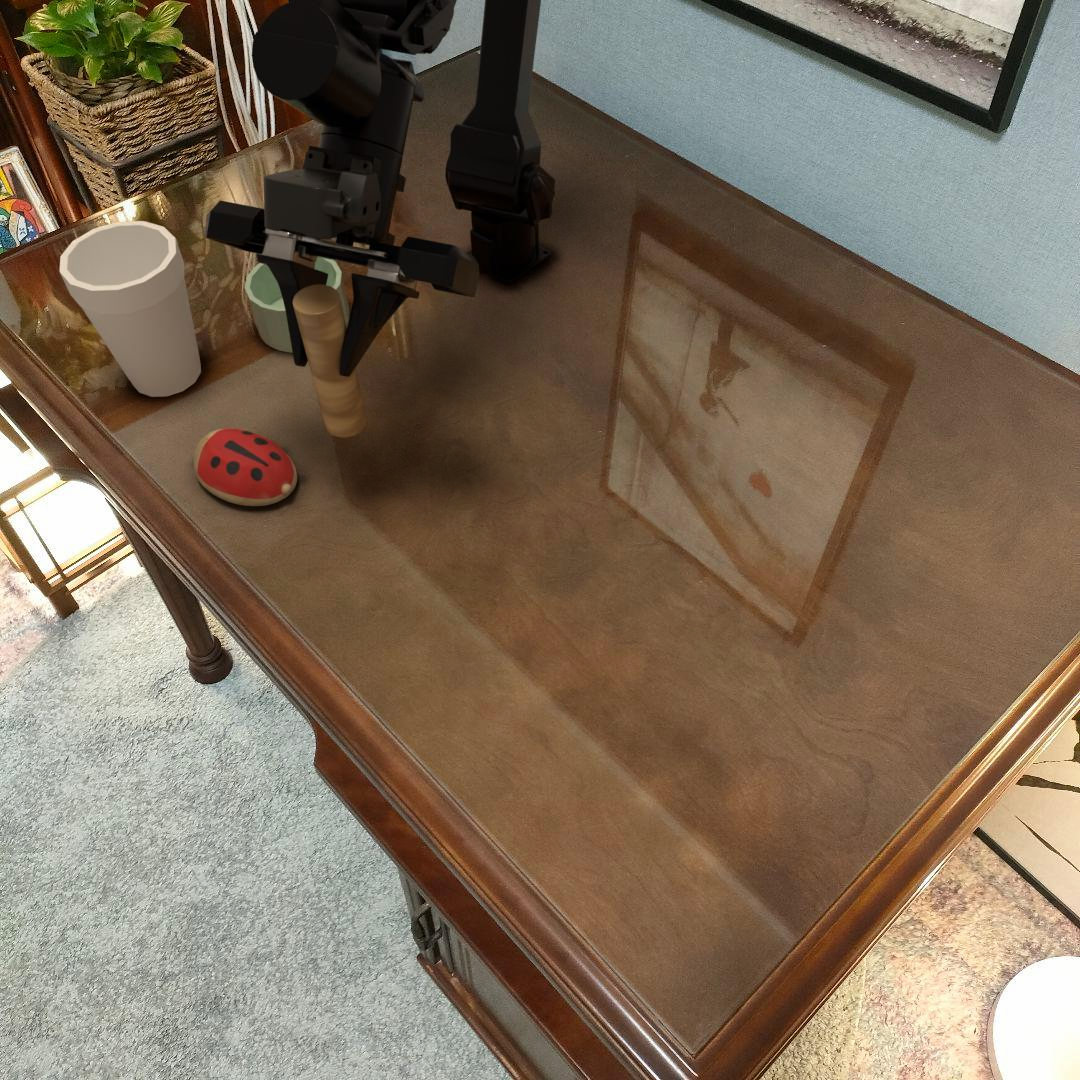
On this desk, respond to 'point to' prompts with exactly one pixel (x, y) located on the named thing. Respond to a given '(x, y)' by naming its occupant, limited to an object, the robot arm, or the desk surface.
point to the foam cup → (137, 302)
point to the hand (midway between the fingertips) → (321, 371)
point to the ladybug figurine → (244, 468)
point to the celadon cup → (271, 306)
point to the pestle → (329, 359)
